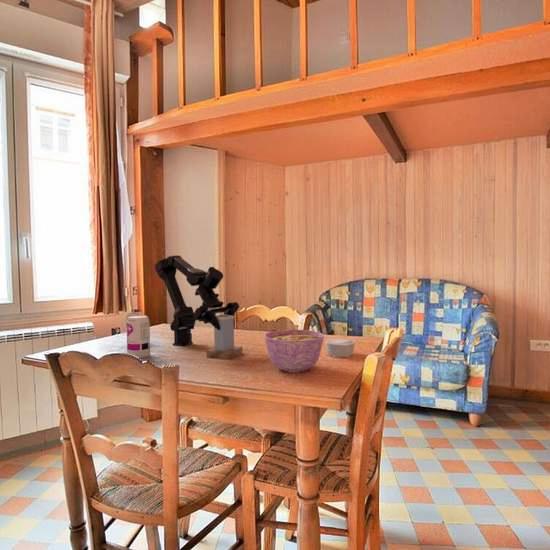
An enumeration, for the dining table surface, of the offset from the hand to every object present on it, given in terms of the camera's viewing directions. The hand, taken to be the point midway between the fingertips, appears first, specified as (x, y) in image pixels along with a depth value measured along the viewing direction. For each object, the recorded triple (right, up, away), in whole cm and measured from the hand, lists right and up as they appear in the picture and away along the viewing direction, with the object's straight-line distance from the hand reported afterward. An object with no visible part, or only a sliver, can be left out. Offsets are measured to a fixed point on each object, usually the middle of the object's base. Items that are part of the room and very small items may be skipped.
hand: (226, 328), depth 168 cm
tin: (-1, -8, +1) cm, 8 cm away
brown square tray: (-1, -11, +2) cm, 11 cm away
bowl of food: (+25, -12, -19) cm, 33 cm away
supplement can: (-33, -11, +1) cm, 35 cm away
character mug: (-42, -10, +25) cm, 50 cm away
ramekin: (+43, -11, +1) cm, 44 cm away
